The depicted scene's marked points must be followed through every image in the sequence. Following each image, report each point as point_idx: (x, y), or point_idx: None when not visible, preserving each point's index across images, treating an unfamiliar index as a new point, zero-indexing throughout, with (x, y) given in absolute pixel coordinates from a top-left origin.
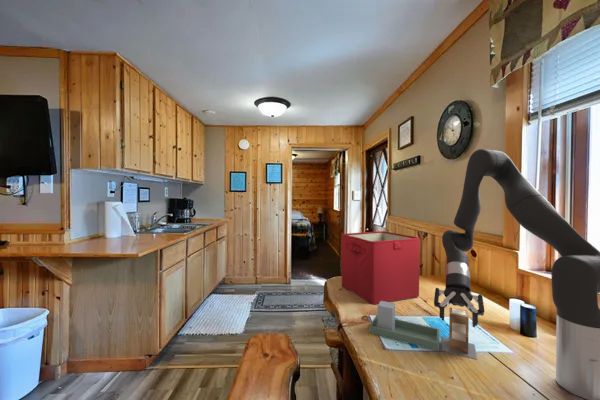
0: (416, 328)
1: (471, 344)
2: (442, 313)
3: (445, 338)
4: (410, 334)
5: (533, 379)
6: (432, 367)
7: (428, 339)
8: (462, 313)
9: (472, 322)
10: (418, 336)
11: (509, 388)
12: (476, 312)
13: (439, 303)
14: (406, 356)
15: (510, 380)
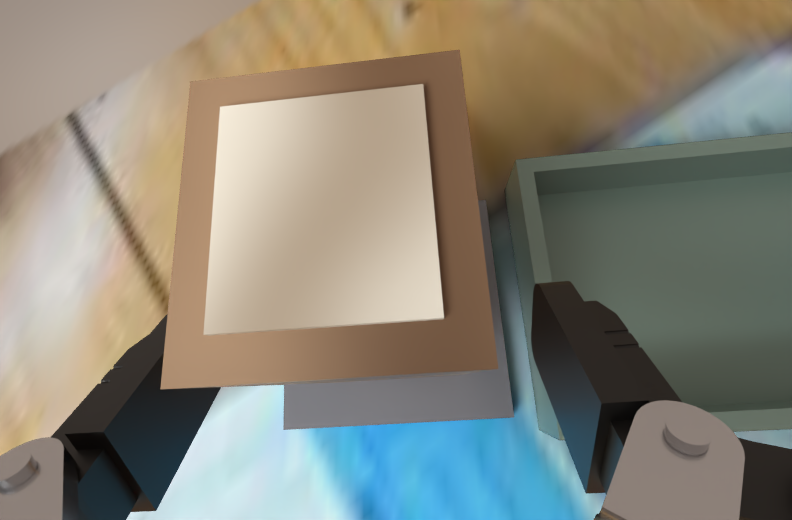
0: (755, 404)
1: (305, 412)
2: (582, 315)
3: (489, 398)
4: (751, 302)
5: (57, 213)
6: (502, 28)
7: (601, 303)
8: (263, 151)
9: (201, 396)
10: (683, 305)
11: (185, 77)
12: (23, 451)
13: (765, 501)
14: (651, 40)
15: (164, 140)
